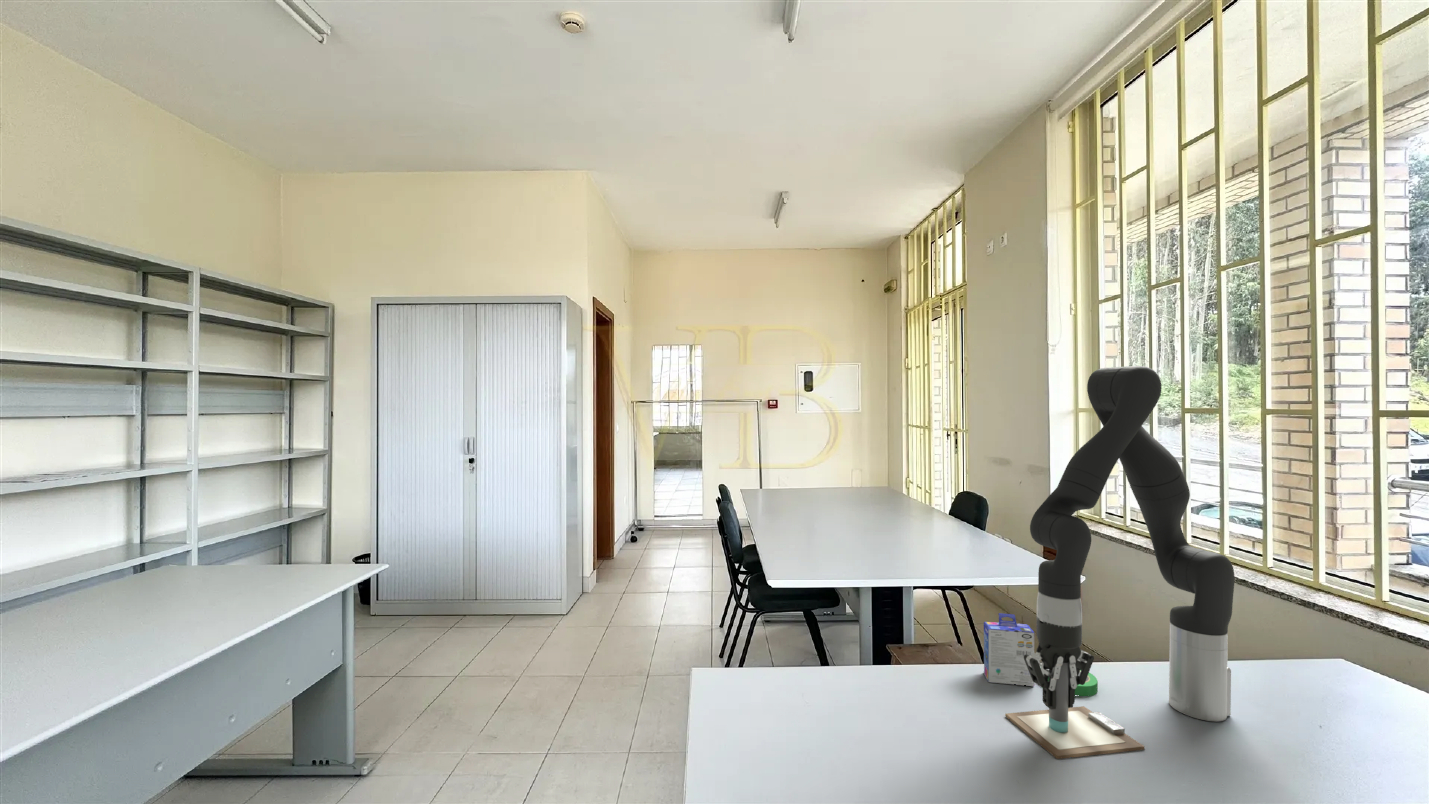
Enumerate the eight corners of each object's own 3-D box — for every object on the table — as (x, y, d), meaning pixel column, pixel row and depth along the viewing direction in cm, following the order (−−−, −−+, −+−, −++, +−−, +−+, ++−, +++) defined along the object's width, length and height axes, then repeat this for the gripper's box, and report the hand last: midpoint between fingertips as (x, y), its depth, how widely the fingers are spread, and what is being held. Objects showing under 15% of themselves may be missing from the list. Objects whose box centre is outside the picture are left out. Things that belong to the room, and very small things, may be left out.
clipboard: (1083, 709, 120) (1083, 701, 120) (1144, 749, 106) (1144, 740, 106) (1005, 716, 117) (1005, 708, 117) (1057, 759, 103) (1057, 750, 103)
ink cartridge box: (1027, 676, 135) (1028, 613, 134) (1036, 687, 129) (1036, 622, 129) (982, 671, 137) (982, 610, 136) (988, 683, 131) (988, 619, 131)
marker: (1059, 722, 114) (1060, 656, 114) (1072, 731, 110) (1072, 663, 110) (1045, 723, 113) (1045, 657, 113) (1057, 733, 110) (1057, 664, 110)
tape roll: (1093, 679, 134) (1093, 668, 134) (1101, 702, 124) (1101, 690, 124) (1038, 670, 138) (1038, 658, 138) (1042, 691, 128) (1042, 679, 128)
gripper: (1076, 608, 116) (1075, 693, 117) (1012, 612, 114) (1012, 699, 114) (1107, 622, 109) (1106, 714, 109) (1040, 627, 107) (1039, 720, 107)
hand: (1058, 706), depth 112 cm, fingers closed on marker, 3 cm apart
